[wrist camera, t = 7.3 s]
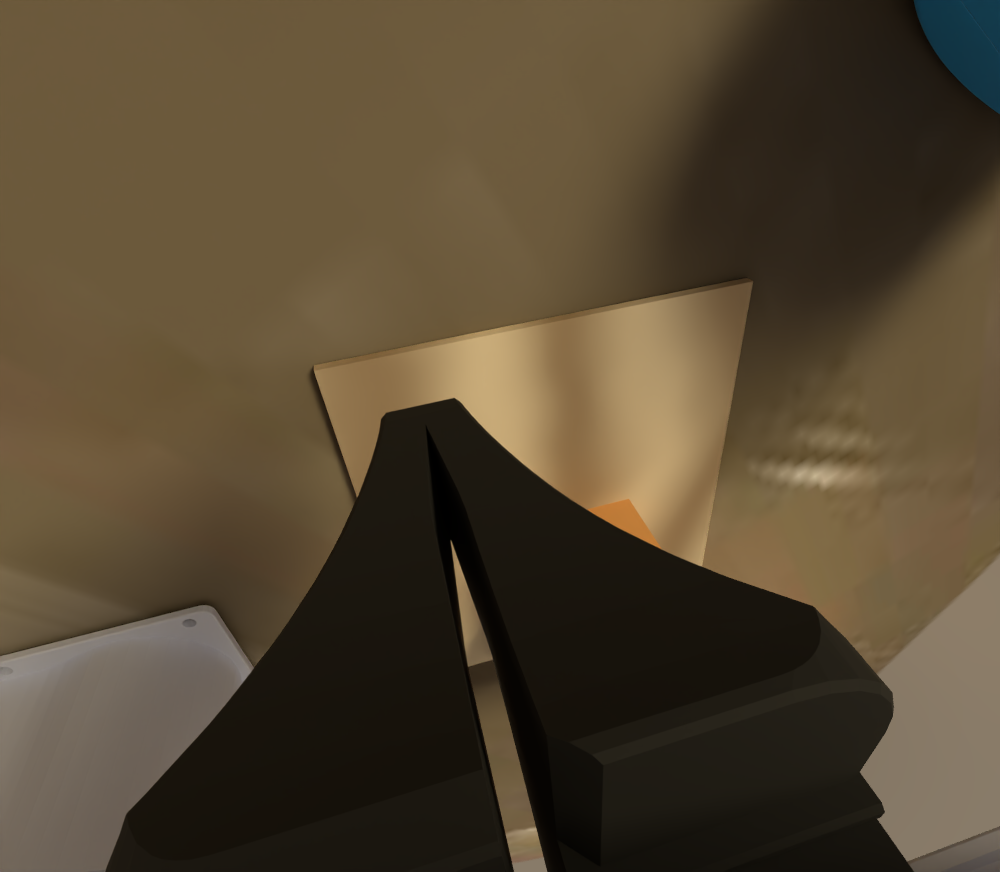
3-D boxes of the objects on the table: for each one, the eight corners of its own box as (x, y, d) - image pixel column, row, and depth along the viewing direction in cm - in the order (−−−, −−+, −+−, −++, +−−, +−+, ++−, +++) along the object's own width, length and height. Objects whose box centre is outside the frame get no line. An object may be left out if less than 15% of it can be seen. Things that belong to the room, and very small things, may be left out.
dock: (418, 673, 30) (433, 779, 26) (314, 365, 19) (309, 462, 14) (691, 595, 32) (747, 680, 28) (746, 277, 21) (854, 338, 17)
